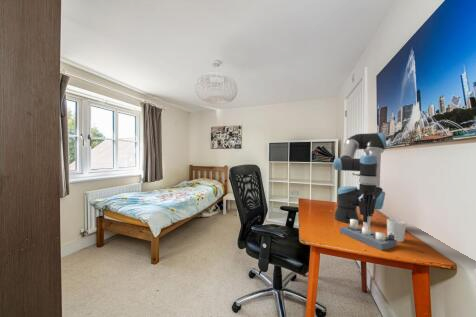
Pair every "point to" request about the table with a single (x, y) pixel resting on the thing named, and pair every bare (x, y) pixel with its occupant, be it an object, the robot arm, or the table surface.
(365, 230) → the white oval solid
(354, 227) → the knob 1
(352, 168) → the robot arm
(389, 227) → the white cup
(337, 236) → the table surface
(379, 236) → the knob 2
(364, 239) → the grey egg holder
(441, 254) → the table surface
